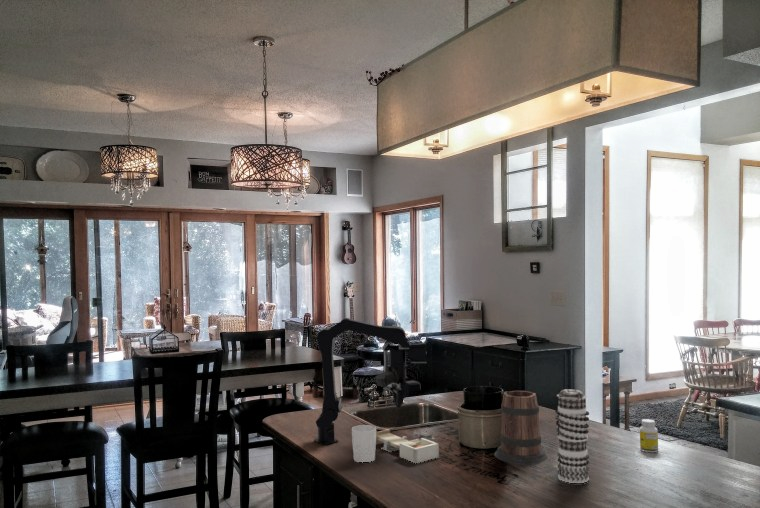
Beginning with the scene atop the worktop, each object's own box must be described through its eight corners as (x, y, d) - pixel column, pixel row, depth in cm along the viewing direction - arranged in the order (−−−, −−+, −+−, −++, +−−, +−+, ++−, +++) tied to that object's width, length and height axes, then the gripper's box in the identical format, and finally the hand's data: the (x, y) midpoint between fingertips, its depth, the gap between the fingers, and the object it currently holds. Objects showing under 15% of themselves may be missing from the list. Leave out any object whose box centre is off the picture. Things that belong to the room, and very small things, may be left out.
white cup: (373, 464, 182) (373, 432, 182) (349, 463, 184) (348, 431, 184) (379, 456, 190) (378, 425, 190) (355, 455, 191) (354, 424, 192)
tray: (399, 457, 188) (399, 443, 189) (422, 451, 194) (422, 438, 194) (415, 463, 182) (415, 449, 182) (438, 457, 187) (438, 443, 188)
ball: (419, 459, 185) (412, 456, 188) (427, 456, 187) (420, 454, 190) (418, 448, 185) (412, 445, 188) (427, 445, 187) (420, 443, 190)
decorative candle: (587, 486, 161) (585, 395, 162) (553, 481, 166) (551, 392, 166) (593, 476, 169) (591, 389, 170) (560, 471, 174) (558, 386, 174)
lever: (374, 438, 203) (374, 431, 203) (409, 431, 212) (409, 424, 212) (402, 450, 190) (402, 443, 190) (438, 442, 199) (438, 434, 199)
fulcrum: (380, 448, 198) (380, 439, 198) (402, 443, 203) (401, 434, 203) (389, 452, 193) (389, 442, 194) (411, 447, 199) (410, 437, 199)
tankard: (545, 466, 178) (544, 400, 178) (489, 460, 184) (488, 396, 184) (552, 444, 200) (551, 385, 200) (502, 440, 206) (501, 382, 206)
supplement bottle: (639, 447, 195) (638, 417, 196) (657, 448, 194) (656, 419, 194) (640, 452, 190) (640, 422, 191) (659, 453, 188) (658, 423, 189)
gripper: (363, 362, 209) (364, 406, 208) (395, 369, 193) (395, 416, 193) (389, 359, 215) (389, 401, 215) (421, 365, 200) (422, 411, 200)
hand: (398, 407), depth 205 cm, fingers closed
